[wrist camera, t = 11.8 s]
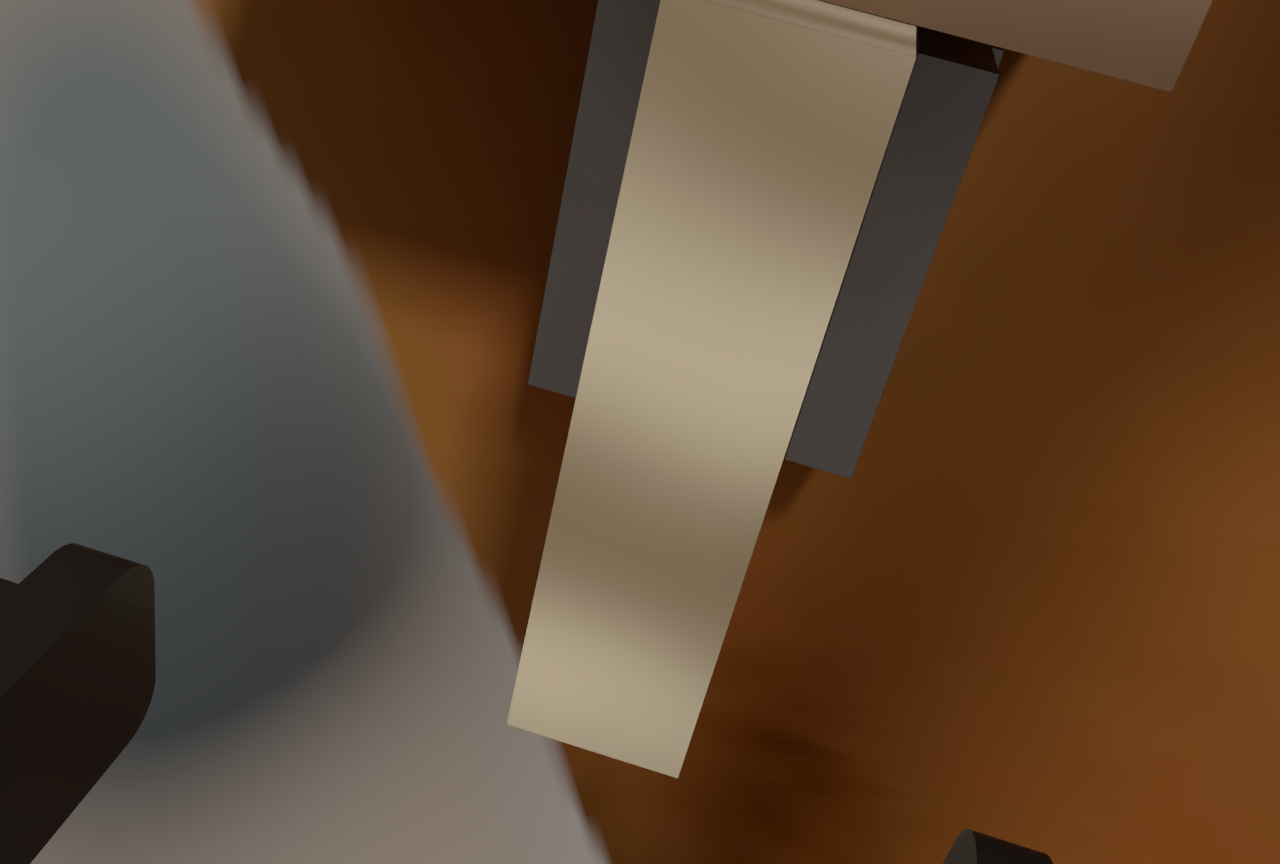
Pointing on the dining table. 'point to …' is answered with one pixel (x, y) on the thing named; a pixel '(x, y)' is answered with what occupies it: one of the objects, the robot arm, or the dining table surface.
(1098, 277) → the dining table surface
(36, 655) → the robot arm
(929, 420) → the dining table surface
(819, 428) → the stand
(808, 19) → the beige rectangular slab
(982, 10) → the rack
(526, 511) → the dining table surface
